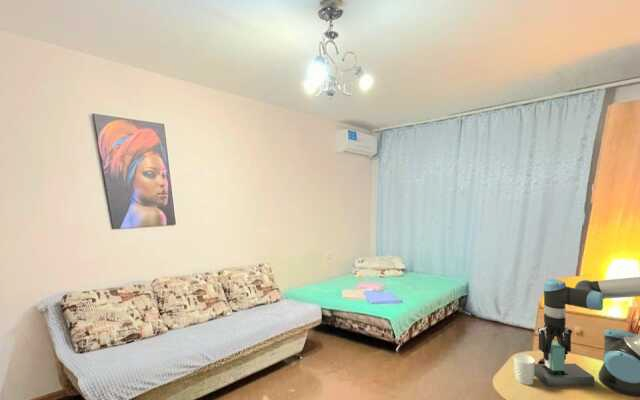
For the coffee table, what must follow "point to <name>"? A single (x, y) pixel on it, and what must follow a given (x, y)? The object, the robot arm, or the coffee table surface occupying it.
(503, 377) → the coffee table surface
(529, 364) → the white cup
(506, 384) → the coffee table surface
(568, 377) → the grey slotted board
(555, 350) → the teal block
